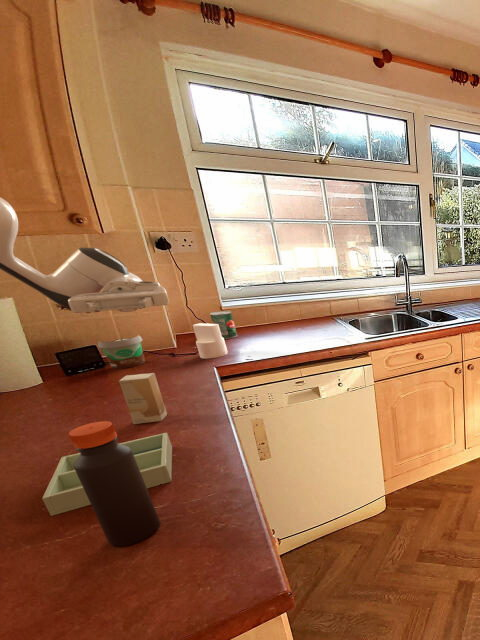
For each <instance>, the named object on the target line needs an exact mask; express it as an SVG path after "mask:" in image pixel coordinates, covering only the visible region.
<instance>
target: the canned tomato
mask: <svg viewBox="0 0 480 640" xmlns="http://www.w3.org/2000/svg"><path fill="white" fill-rule="evenodd" d="M209 315H210V318H211V324H218V325H219V328H220V332H221V335H222V337H223V338H224V340H228V339H229V340H230V339H233V338H236V337H238V333H237V329H236V325H235V321H234V317H233V314H232V311H231V310H220V311H215V312H214V311H213V312H210V313H209Z"/></svg>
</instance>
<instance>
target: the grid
mask: <svg viewBox="0 0 480 640" xmlns="http://www.w3.org/2000/svg"><path fill="white" fill-rule="evenodd" d="M119 444H121V445H125V446H128V447H129V448H130V449H131V450H132V452H133V455H134V457H135V460H136V462H137V465H138V467H139V470H140V472H141V475H142V477H143V480H144V483H145V485H146V488H147V489H150V488H153V487H158V486H160V484H161V485H164V484H169V483H171V482H172V481H173V480H172V477H173V474H172V473H173V445H172V442H171V440H170V437H169V433H168V432H163V433H159V434H158V433H157V434H155V435H154V434H153V435H150V436H147V437H141V438H138V439H133V440H129V441H125V442H120V443H119ZM80 454H81V453H80V452H78V453H74V454H69V455H65V456H61V458H60V460H59V462H58V463H57V466H56V468H55V471H54V473H53V475H52V477H51V479H50V480H49V483H48V485H47V488H46V490H45V491H44V494H43V496H42V498H41V499H42V502H43V503H44V505H45V507H46V509H47V511H48V513H49V515H50V517H52V516H53V517H54V516H56V515H59V514H63V513H66V512H69V511H73V510H77V509H80V508H84V507H87V506H90V505H91V503H90V501H89V499H88V497H87V495H86V493H85V490H84V488H83V486H82V484H81V482H80V480H79V477H78V475H77V473H76V471H75V469H74V466H73V465H74V462H75V461H76V459H77V458H78V457H79V455H80ZM91 506H92V505H91Z"/></svg>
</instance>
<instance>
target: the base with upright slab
mask: <svg viewBox="0 0 480 640" xmlns="http://www.w3.org/2000/svg"><path fill="white" fill-rule="evenodd" d="M192 328H193V331H194V332H193V333H194V335H195V338H196V341H195V345H196V348H197V351H198V356H199V357H200V359H206V360H207V359H216V358H220V357H225V356H227V355H228V353H229V352H228V348H227V344H226V341H225V339H224V338H223V337H222V335H221V332H220V328H219V325H218V324H213V323H201V322H200V323H199V322H198V323H194V324H192Z"/></svg>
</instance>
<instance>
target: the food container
mask: <svg viewBox="0 0 480 640" xmlns="http://www.w3.org/2000/svg"><path fill="white" fill-rule="evenodd" d="M143 341H144V339H143V338H142V337H141V335H140V334H137V336H134V337H129V338H119V339H115V340H113V341H98V342H97V347H98V348H99V349H102V353H103V354H104V355H105V357H106V360H107V361H108V363H109V364H110V366H111V368H112V369H127V368H133V367H137V366H140V365H143V364H145V362H146V360H145V359H146V358H145V354H144V349H143V345H142V342H143Z"/></svg>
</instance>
